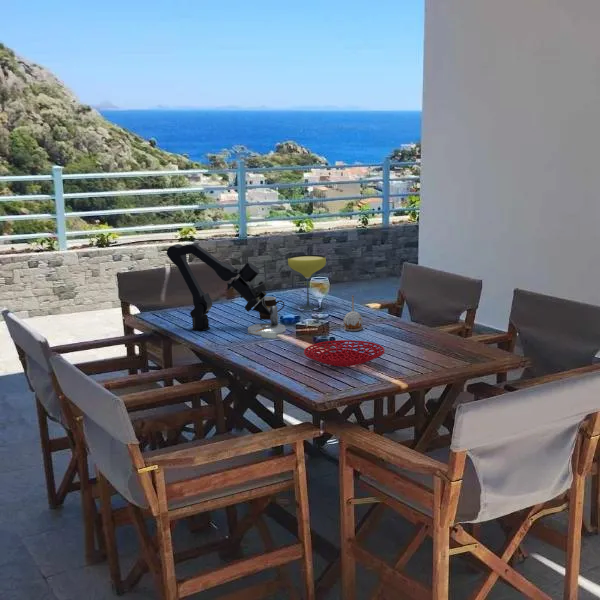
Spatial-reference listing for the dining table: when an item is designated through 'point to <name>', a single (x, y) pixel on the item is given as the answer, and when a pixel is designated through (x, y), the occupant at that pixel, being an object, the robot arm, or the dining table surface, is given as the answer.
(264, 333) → the base plate
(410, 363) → the dining table surface
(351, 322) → the decorative ornament
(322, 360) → the bowl
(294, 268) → the cocktail glass
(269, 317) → the coffee mug
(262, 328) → the turntable platter
